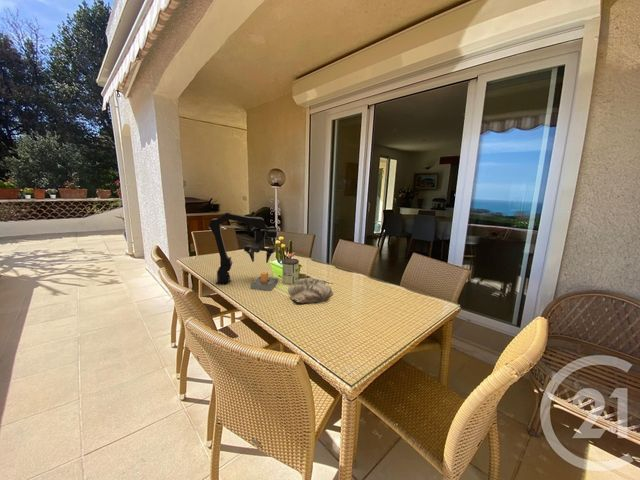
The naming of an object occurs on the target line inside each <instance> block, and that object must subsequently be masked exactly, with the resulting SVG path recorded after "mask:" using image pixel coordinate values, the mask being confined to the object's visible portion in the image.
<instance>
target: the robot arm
mask: <svg viewBox="0 0 640 480" xmlns="http://www.w3.org/2000/svg"><path fill="white" fill-rule="evenodd" d="M227 221H233V222H239V223H244V224H249V225H250V226H253V228H252V229H251V231H252V232H254V239H253V244H248V245H245V246H244V247H243V252H246V253H247V254H248V255H249V257H250V260H251V262H252V263H253V262H255V253H256V254H257V253H260V252H261V251H262V252H266V253H265V256H266V260H265V263H266V264H268V263H269V260H270V258H271V256H272V254H275V252H276V251H277V249H276V247H275V246H269V247H266V244H265V242H266V238H267V239H277V238H278V232H277V226H272V227H271V226H267V224H266V223H265V219H264V218H263V217H260V216H246V215H243V214H242V215H241V214H237V213H232V212H229V211H227V212H225V213H224V214H222V215H220V216H219V217H218V218H212V219H210V221H209V222H208V226H209V228H210V231H211V233H212V234H213V235H214V239H215V243H216V246H217V247H216V248H217V250H218V253H219V257H220V260H219V261H220V262H219V265H220V266H219V267H218V269H217V271H216V278H217V279H216V280H217V281H216V282H215V284H216V285H224V286H225V285H228V284H229V283H230V282H232V279H231V275H230V270H231V269H232V266H233V263H234V262H233V261H232V256H228V253H227V249H226V245H225V242H224V238H223V234H222V224H223V223H225V222H227Z"/></svg>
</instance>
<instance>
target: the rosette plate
mask: <svg viewBox="0 0 640 480" xmlns="http://www.w3.org/2000/svg"><path fill="white" fill-rule="evenodd" d="M278 283H279V277H273V276H272V277H271V276H268V282H267V283H265V282H261V275H259V277H257V278H256V279H254V280H253V281H252V282H251V283H250V287H249V288H250V290H257V291H266V292H267V291H268V292H271V291H272V290H273V289H274V288H275V287H276V286H277V285H278Z"/></svg>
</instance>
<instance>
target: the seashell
mask: <svg viewBox="0 0 640 480" xmlns="http://www.w3.org/2000/svg"><path fill="white" fill-rule="evenodd" d="M287 292H288V295H290V296H291V300H292V301H293V300H294V301H295V302H297V303H301V304H304V303H317V302H322V301H325V300H326V299H328V298H330V297H331V296H333V295H334V294H333V293H334V292H333V291H332V287H331V285H326V282H325V281H324V279H319V278H317V279H316V278H313V277H306V278H298V283H297V284H294V285H293V286H291V285H290V286H289V287H288V288H287Z"/></svg>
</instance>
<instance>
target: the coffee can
mask: <svg viewBox="0 0 640 480" xmlns="http://www.w3.org/2000/svg"><path fill="white" fill-rule="evenodd" d="M281 262H282V281H281V282H282V284H284V285H287V286H291V285H293V286H294V285H295V284H296V285H297V284H298V280H299V266H300V265H299V263H300V261H299V259H297V258H284V259H283V260H282V261H281Z"/></svg>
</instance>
